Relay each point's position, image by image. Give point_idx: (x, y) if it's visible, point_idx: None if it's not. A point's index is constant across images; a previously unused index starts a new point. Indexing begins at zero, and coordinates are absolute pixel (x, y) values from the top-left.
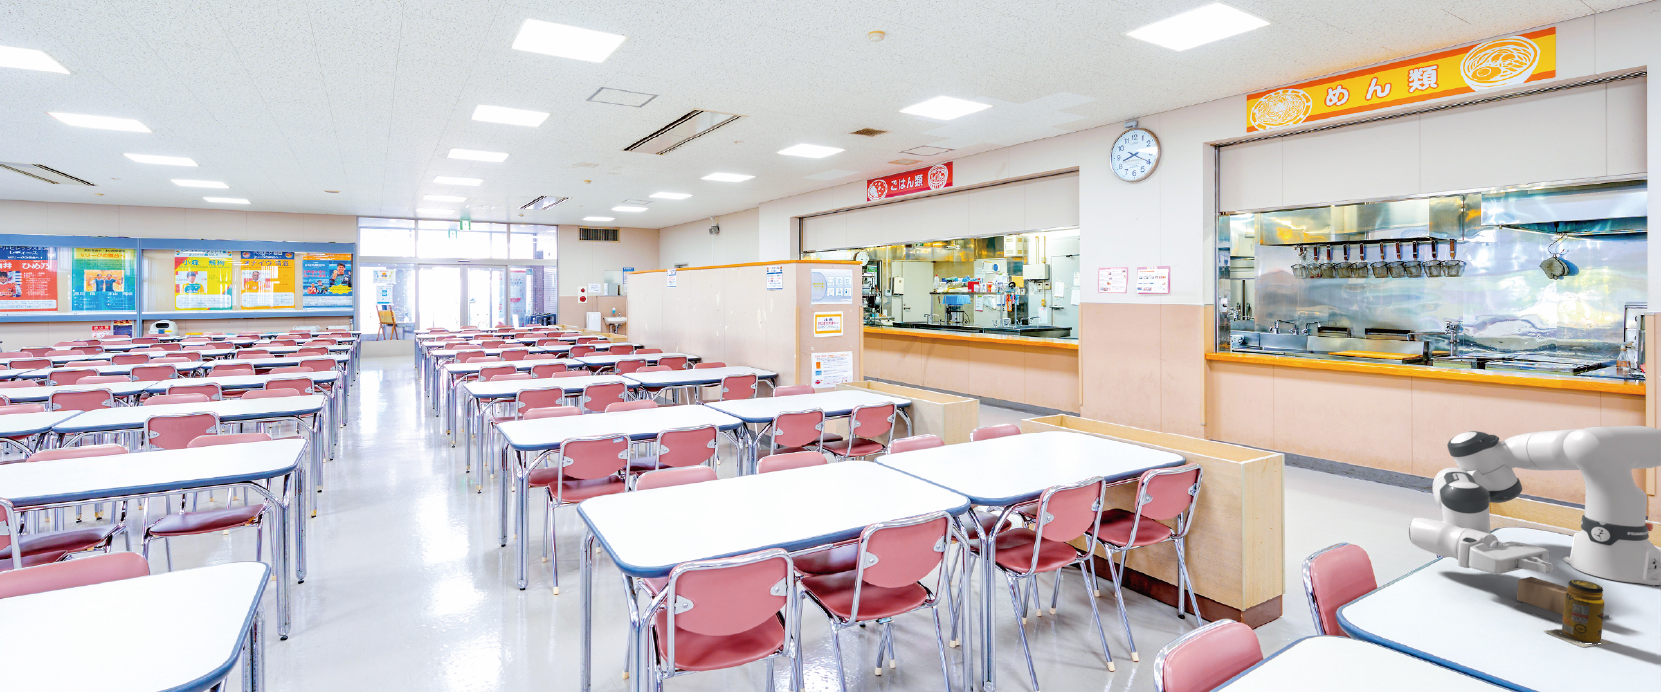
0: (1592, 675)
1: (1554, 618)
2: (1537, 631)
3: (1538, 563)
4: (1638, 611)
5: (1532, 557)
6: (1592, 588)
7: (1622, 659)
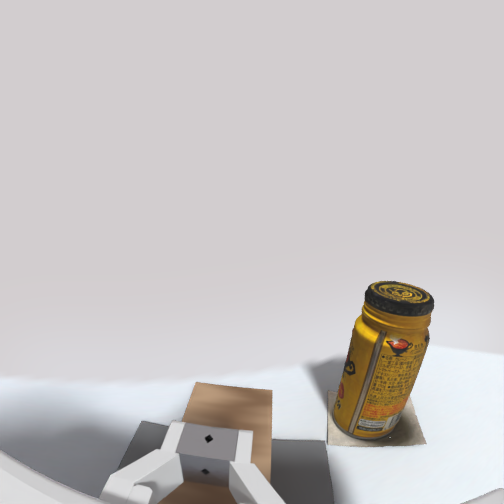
0: (468, 354)
1: (325, 475)
2: (434, 449)
3: (244, 457)
4: (43, 390)
5: (132, 499)
6: (409, 285)
7: None
